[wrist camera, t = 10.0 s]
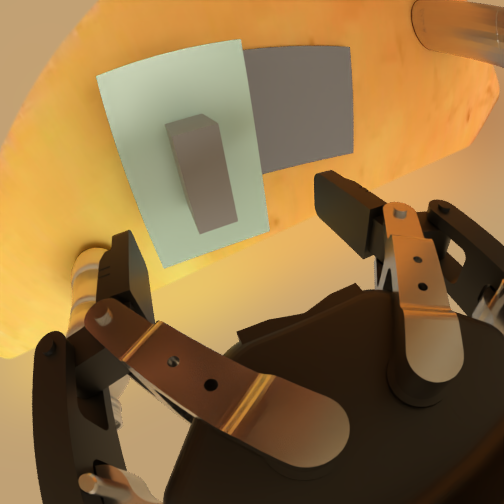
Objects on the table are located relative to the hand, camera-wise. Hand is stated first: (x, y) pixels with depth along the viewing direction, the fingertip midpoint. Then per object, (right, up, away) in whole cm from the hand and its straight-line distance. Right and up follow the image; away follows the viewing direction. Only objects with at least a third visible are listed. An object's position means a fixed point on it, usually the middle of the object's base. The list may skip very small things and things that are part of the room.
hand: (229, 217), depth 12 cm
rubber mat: (+6, +15, +17) cm, 24 cm away
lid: (-3, +5, +7) cm, 9 cm away
